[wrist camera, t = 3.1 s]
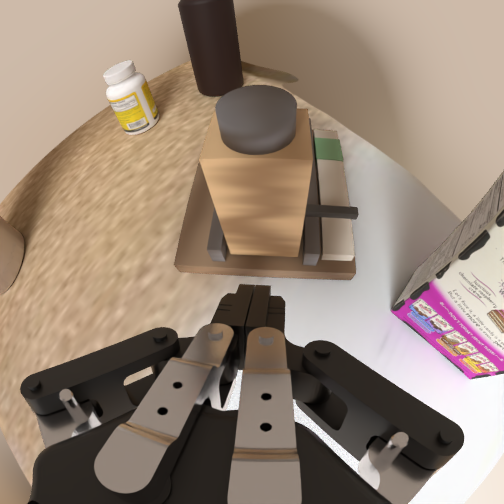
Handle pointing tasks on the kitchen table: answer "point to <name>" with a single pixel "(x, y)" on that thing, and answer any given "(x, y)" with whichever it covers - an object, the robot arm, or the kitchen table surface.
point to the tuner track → (313, 234)
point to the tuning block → (262, 171)
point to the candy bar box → (463, 291)
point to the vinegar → (212, 45)
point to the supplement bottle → (130, 98)
